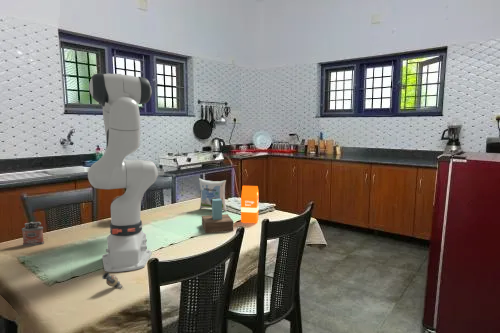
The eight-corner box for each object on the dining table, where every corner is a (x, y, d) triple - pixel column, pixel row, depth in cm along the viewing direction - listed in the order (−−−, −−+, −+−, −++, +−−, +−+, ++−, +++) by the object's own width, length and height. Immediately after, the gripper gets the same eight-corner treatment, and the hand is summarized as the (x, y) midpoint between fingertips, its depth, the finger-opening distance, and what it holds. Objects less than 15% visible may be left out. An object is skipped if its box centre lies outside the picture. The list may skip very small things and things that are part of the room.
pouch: (203, 207, 217) (203, 177, 215) (229, 210, 209) (229, 179, 207) (196, 209, 210) (196, 178, 208) (222, 213, 202) (222, 181, 200)
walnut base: (233, 230, 169) (233, 221, 168) (205, 233, 165) (205, 223, 164) (227, 223, 182) (227, 214, 181) (201, 225, 178) (201, 215, 177)
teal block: (222, 219, 171) (222, 200, 170) (213, 219, 170) (213, 200, 169) (220, 217, 175) (220, 198, 174) (211, 217, 174) (211, 198, 173)
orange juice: (256, 223, 182) (257, 187, 180) (240, 222, 183) (240, 186, 181) (258, 219, 190) (258, 184, 187) (243, 218, 191) (243, 184, 189)
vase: (106, 295, 104) (105, 276, 103) (100, 290, 108) (98, 272, 107) (123, 289, 108) (122, 271, 107) (117, 284, 111) (115, 267, 111)
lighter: (21, 246, 145) (20, 224, 144) (24, 243, 148) (23, 221, 147) (42, 244, 147) (41, 222, 146) (45, 242, 150) (43, 220, 149)
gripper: (132, 168, 150) (164, 168, 154) (135, 163, 170) (163, 163, 174) (133, 182, 151) (164, 181, 155) (135, 176, 171) (163, 175, 174)
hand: (164, 171), depth 164 cm, fingers open, 8 cm apart
